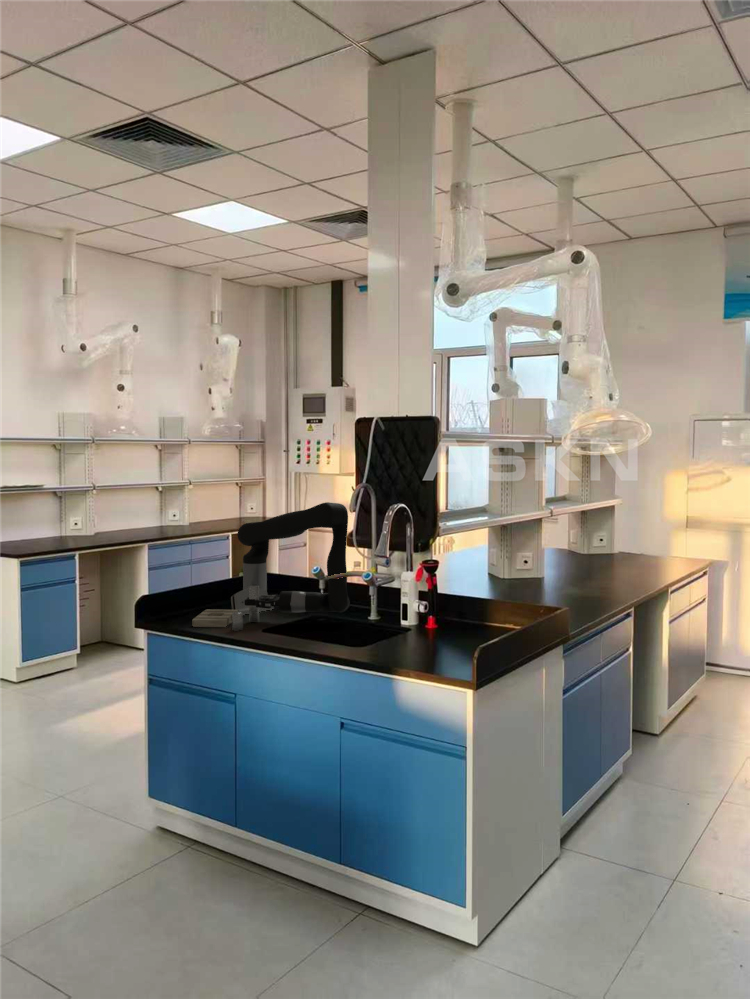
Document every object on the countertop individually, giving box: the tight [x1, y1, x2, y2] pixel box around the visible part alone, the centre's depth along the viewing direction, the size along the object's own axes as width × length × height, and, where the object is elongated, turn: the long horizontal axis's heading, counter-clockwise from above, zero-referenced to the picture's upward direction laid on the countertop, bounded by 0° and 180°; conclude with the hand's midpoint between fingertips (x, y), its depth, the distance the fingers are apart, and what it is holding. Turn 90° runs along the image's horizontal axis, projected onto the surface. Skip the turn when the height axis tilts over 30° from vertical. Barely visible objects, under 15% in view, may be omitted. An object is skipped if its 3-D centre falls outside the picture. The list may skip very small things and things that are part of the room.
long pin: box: [248, 585, 260, 623], centre depth 283 cm, size 4×4×13 cm
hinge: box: [230, 588, 275, 616], centre depth 301 cm, size 17×5×10 cm, turn 137°
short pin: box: [231, 612, 244, 632], centre depth 270 cm, size 4×4×6 cm
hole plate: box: [191, 608, 238, 628], centre depth 284 cm, size 18×12×2 cm, turn 177°
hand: (246, 601), depth 283 cm, fingers closed on long pin, 3 cm apart
